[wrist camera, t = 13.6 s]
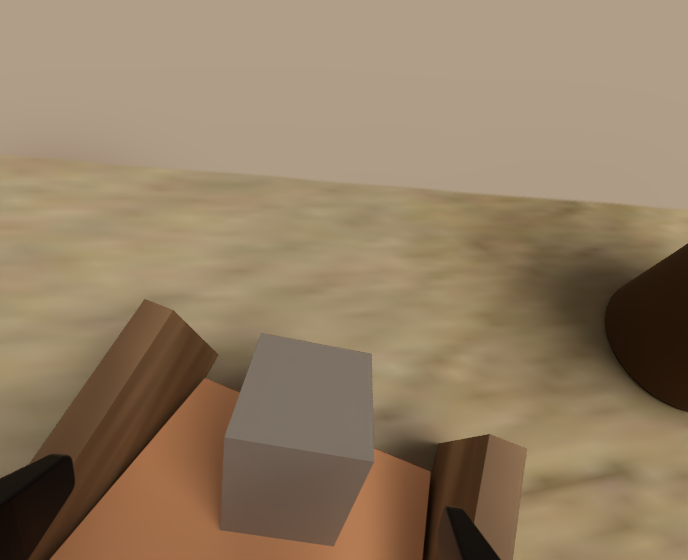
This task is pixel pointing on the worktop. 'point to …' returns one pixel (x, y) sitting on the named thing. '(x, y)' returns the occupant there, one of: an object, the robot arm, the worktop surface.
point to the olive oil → (654, 328)
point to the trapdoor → (205, 502)
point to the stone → (298, 441)
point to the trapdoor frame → (178, 384)
